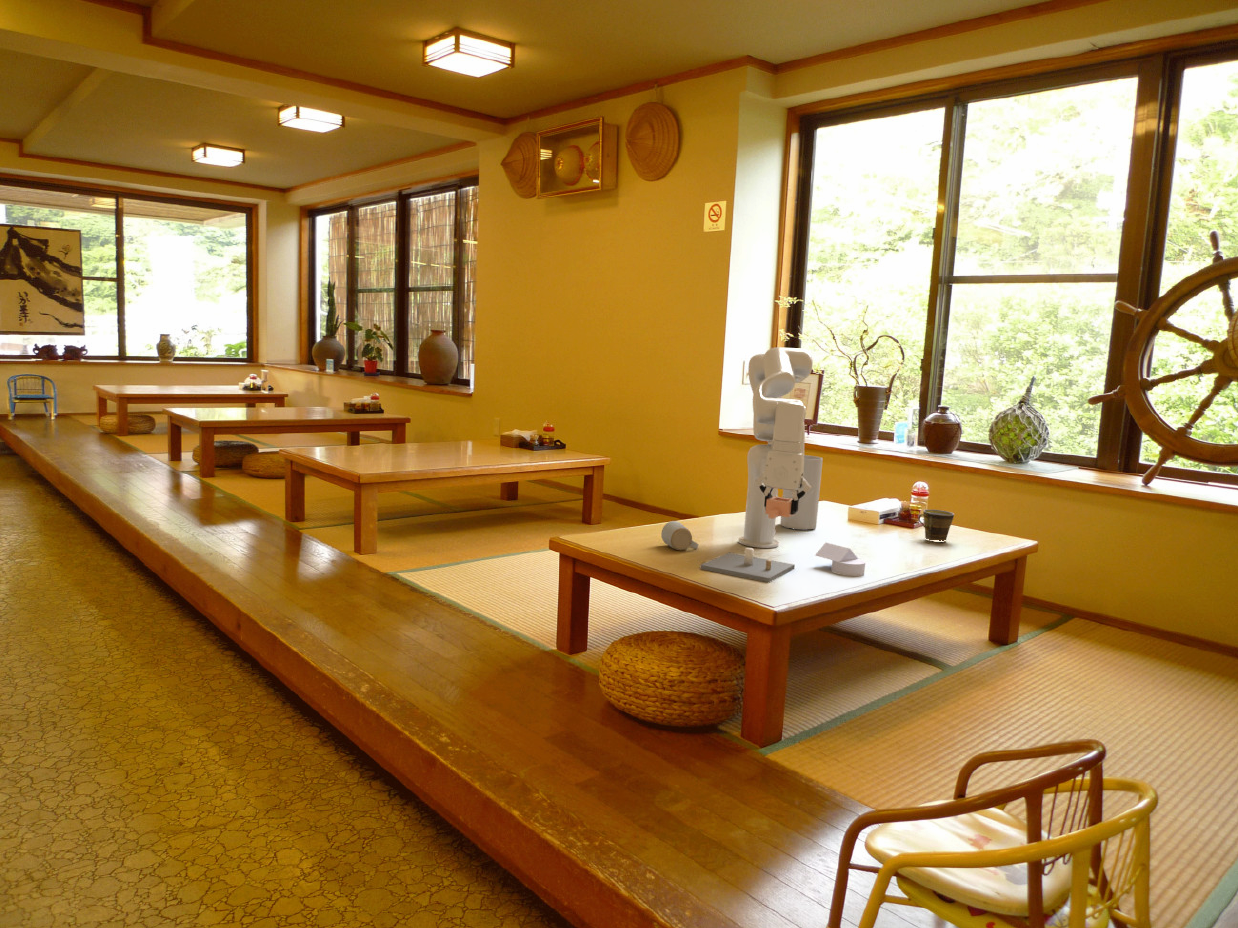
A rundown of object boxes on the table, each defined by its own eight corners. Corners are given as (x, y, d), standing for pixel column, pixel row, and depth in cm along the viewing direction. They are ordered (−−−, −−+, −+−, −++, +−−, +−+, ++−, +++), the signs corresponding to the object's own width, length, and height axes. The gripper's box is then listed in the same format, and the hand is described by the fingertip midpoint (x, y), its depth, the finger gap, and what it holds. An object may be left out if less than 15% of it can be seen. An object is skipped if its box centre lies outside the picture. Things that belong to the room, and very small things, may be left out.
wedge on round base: (813, 566, 253) (851, 577, 243) (815, 543, 252) (853, 553, 242) (833, 563, 258) (870, 573, 248) (835, 541, 257) (872, 550, 247)
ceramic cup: (938, 537, 308) (941, 509, 307) (957, 544, 299) (960, 515, 297) (906, 537, 304) (910, 509, 302) (925, 544, 294) (928, 515, 293)
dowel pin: (766, 568, 241) (767, 559, 241) (771, 569, 240) (772, 560, 240) (764, 569, 240) (765, 560, 240) (769, 570, 239) (770, 561, 239)
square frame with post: (773, 510, 244) (774, 496, 244) (795, 513, 241) (796, 499, 241) (759, 516, 234) (760, 501, 234) (782, 520, 232) (784, 505, 231)
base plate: (729, 556, 258) (730, 537, 257) (794, 568, 248) (796, 549, 247) (700, 568, 241) (701, 548, 240) (768, 582, 231) (770, 561, 230)
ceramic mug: (670, 551, 259) (672, 526, 259) (659, 545, 267) (662, 520, 266) (702, 551, 263) (705, 526, 262) (691, 545, 271) (693, 520, 270)
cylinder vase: (808, 532, 302) (815, 460, 299) (774, 526, 309) (780, 456, 305) (821, 527, 312) (827, 457, 309) (788, 521, 319) (794, 453, 316)
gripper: (751, 444, 238) (745, 509, 241) (814, 452, 230) (807, 518, 233) (760, 442, 245) (755, 505, 247) (821, 449, 237) (815, 514, 239)
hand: (780, 511), depth 240 cm, fingers closed on square frame with post, 6 cm apart
